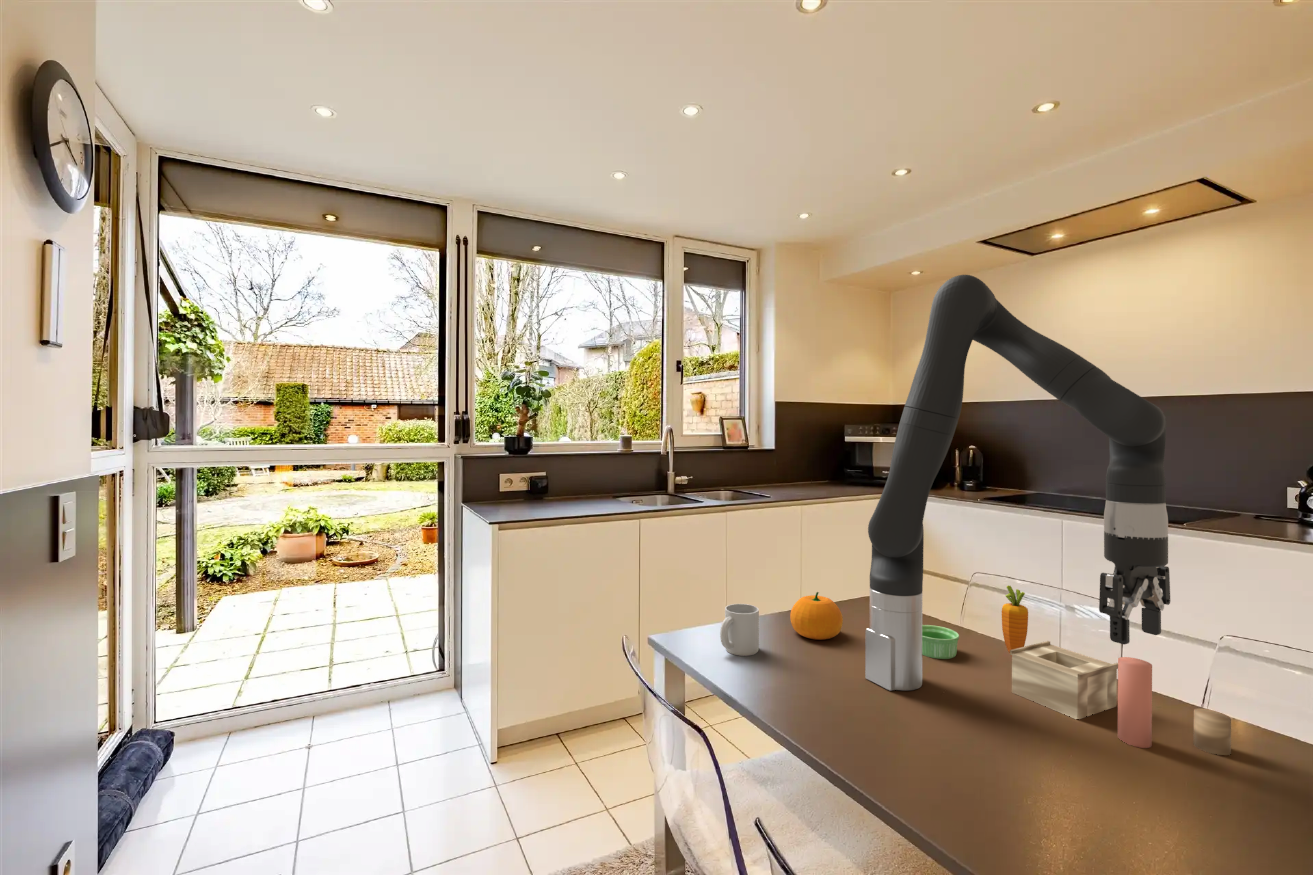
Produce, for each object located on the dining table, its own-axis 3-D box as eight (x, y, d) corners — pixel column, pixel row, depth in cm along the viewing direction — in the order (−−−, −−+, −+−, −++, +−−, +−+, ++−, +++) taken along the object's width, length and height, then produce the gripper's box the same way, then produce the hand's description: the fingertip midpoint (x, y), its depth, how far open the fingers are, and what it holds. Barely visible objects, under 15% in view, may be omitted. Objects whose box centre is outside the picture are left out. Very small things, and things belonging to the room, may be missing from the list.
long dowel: (1142, 750, 86) (1143, 669, 86) (1111, 737, 90) (1112, 659, 89) (1157, 744, 88) (1157, 664, 88) (1126, 731, 91) (1127, 655, 91)
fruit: (832, 625, 141) (832, 584, 141) (850, 643, 129) (850, 598, 129) (784, 626, 141) (784, 585, 140) (798, 644, 129) (798, 599, 129)
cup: (765, 650, 125) (765, 609, 125) (734, 662, 119) (734, 618, 119) (740, 641, 131) (740, 601, 131) (709, 652, 124) (709, 610, 124)
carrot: (1033, 665, 117) (1033, 590, 117) (1006, 663, 118) (1006, 589, 118) (1023, 656, 122) (1023, 584, 122) (996, 654, 123) (997, 583, 123)
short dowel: (1222, 758, 84) (1222, 723, 84) (1188, 744, 88) (1188, 711, 87) (1236, 751, 86) (1236, 717, 86) (1201, 738, 89) (1202, 706, 89)
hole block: (1080, 720, 95) (1080, 674, 95) (1009, 691, 105) (1009, 650, 105) (1119, 707, 99) (1119, 663, 99) (1047, 680, 110) (1048, 640, 110)
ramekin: (909, 642, 130) (909, 623, 130) (953, 646, 128) (953, 626, 127) (915, 658, 121) (915, 636, 121) (963, 662, 119) (963, 641, 119)
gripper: (1132, 524, 95) (1133, 623, 95) (1080, 531, 89) (1080, 637, 89) (1190, 531, 88) (1191, 638, 88) (1137, 539, 82) (1138, 654, 82)
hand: (1135, 637), depth 89 cm, fingers open, 8 cm apart
